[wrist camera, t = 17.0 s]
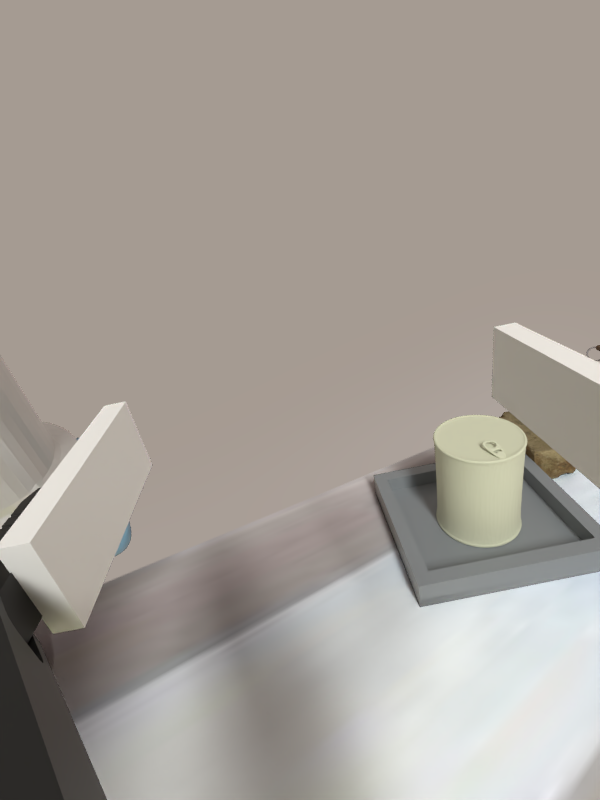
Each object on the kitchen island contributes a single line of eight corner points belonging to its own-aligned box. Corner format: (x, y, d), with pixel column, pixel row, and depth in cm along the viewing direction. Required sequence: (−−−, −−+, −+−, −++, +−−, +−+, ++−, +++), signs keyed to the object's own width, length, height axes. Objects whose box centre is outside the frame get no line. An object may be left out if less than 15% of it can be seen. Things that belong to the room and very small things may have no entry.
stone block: (529, 431, 63) (532, 403, 61) (579, 477, 53) (584, 445, 51) (492, 438, 64) (493, 410, 61) (535, 485, 53) (538, 454, 51)
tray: (420, 607, 41) (418, 586, 40) (375, 492, 57) (373, 475, 56) (616, 567, 41) (621, 546, 40) (516, 464, 57) (517, 446, 56)
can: (463, 558, 44) (462, 468, 39) (422, 504, 52) (417, 423, 47) (540, 533, 45) (550, 442, 40) (488, 484, 53) (490, 403, 48)
